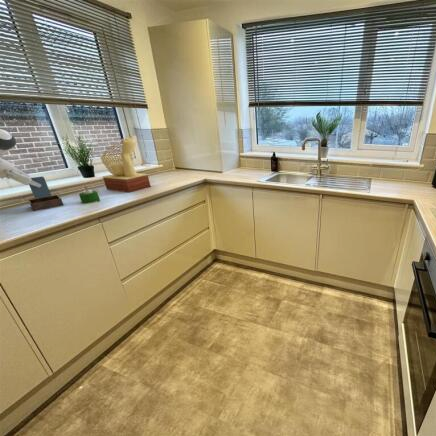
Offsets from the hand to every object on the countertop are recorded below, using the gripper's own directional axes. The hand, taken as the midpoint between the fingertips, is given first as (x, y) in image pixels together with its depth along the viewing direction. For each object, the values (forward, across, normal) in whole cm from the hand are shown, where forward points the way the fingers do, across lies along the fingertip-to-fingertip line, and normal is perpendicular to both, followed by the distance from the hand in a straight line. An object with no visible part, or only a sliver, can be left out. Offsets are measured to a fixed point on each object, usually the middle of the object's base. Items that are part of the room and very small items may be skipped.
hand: (39, 185), depth 128 cm
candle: (+21, -8, -3) cm, 23 cm away
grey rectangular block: (+4, 0, +5) cm, 6 cm away
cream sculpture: (+39, +9, -21) cm, 45 cm away
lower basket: (+8, 0, +9) cm, 12 cm away
